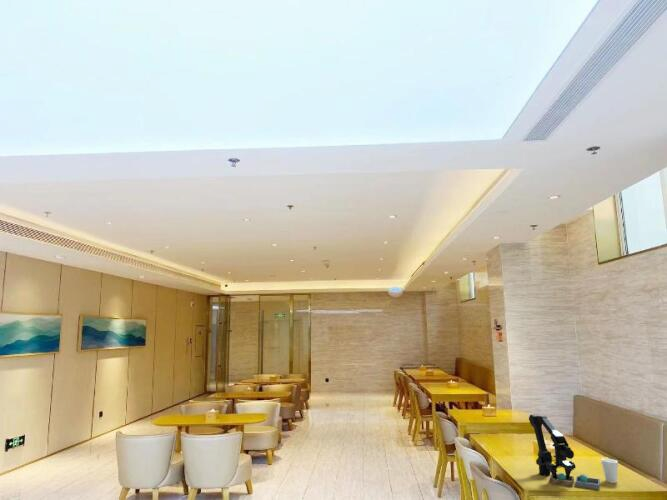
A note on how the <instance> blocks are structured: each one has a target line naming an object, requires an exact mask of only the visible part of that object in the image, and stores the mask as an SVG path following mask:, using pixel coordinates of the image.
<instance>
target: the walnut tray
mask: <svg viewBox="0 0 667 500" xmlns="http://www.w3.org/2000/svg"><path fill="white" fill-rule="evenodd" d="M558 474H559V473H556V475H557V476H558ZM564 475H565V476H566V474H564ZM549 476H550V477H549V484H551V485H558V486H565V487H569V488H570V487H571V488H573V487H574V482H575V478H574V476H573V475H570V476H569V479H567V478H566V480H565V481H564V480H558V477H557V479H554V477H553V475H552V473H550V475H549Z"/></svg>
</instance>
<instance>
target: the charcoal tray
mask: <svg viewBox="0 0 667 500" xmlns="http://www.w3.org/2000/svg"><path fill="white" fill-rule="evenodd" d="M579 476H580V475H576V477H575V480H574V482H575V487H577V488H582V489H583V488H584V489H589V490H595V491H596V490H598V491H600V490H601V489H600V488H601V482H600V481H601V480H600V479H599V478H594V477H593V478H592V477H587V478H588V481H587V482H586V483H584V482H581V481H580V479H579Z"/></svg>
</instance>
